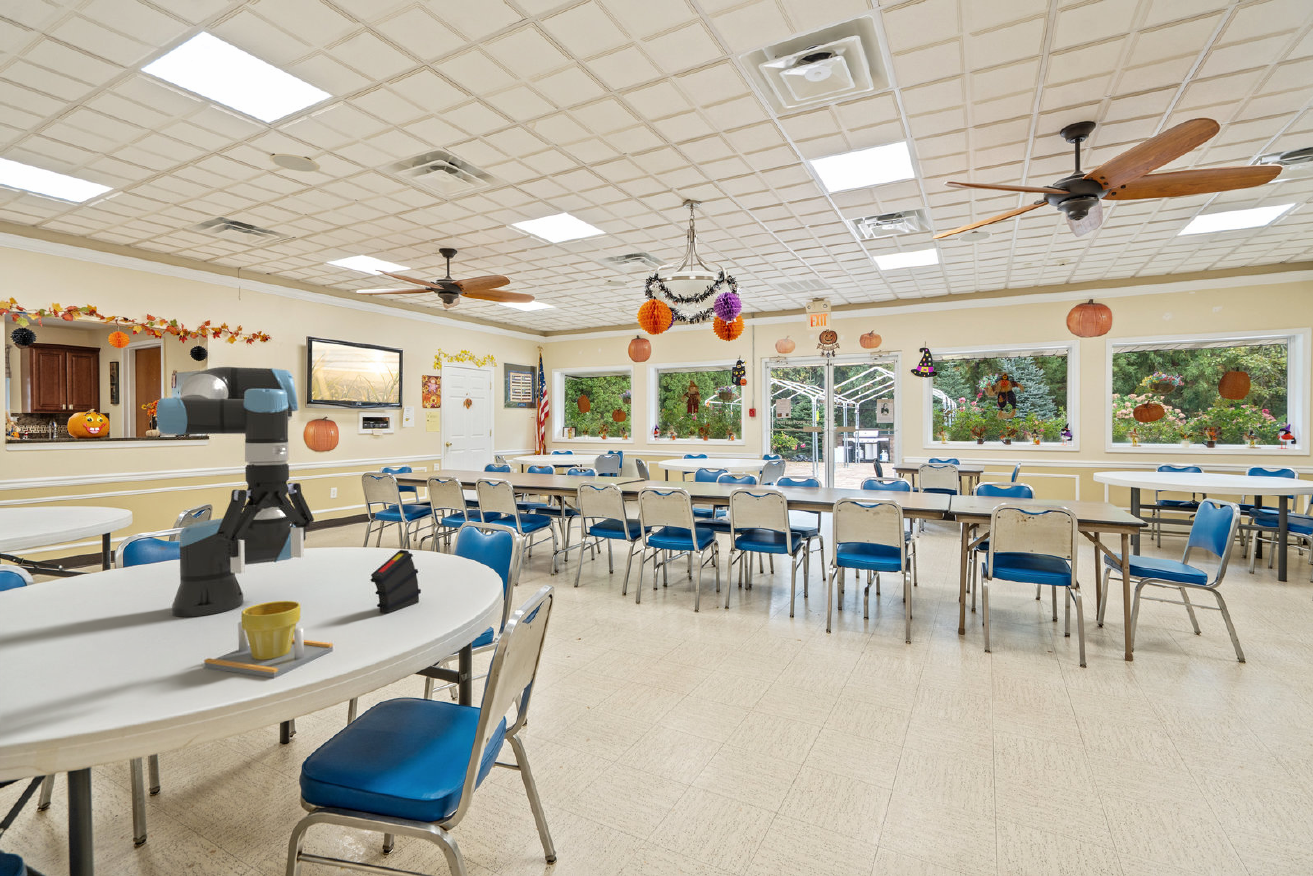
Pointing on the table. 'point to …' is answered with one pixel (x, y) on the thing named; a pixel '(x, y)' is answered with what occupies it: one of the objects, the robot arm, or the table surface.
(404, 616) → the table surface
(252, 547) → the robot arm
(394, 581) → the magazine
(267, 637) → the plant pot
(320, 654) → the tray
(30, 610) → the table surface
